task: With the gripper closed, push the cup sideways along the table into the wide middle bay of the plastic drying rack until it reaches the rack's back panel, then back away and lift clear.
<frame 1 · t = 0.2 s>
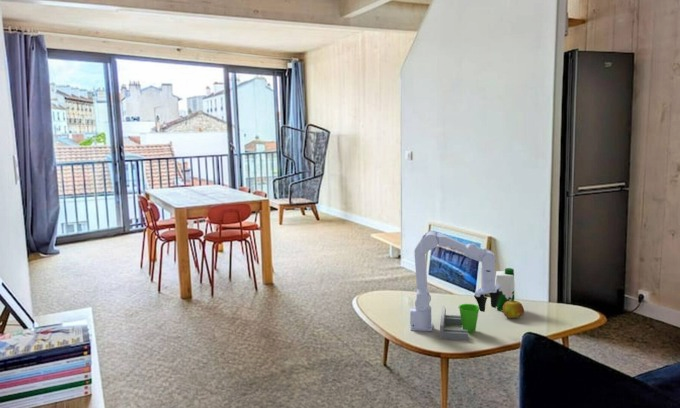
hand: (488, 309, 214), 10 cm above the table, tool pointing down, fingers open, 7 cm apart
rack: (457, 330, 218), on the table
milk carton: (504, 309, 243), on the table
cup: (469, 331, 217), on the table
fruit: (513, 318, 230), on the table
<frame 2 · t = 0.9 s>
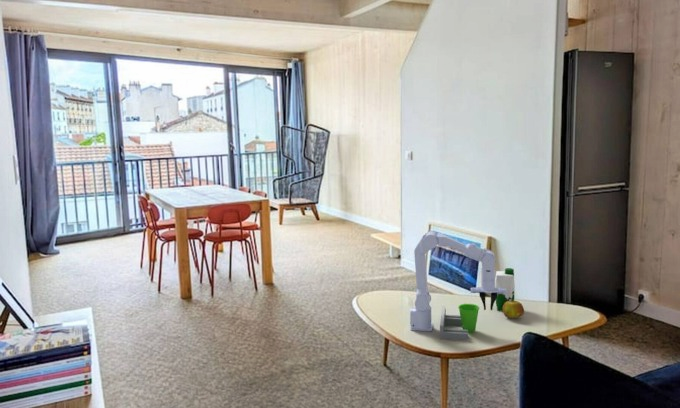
hand: (488, 309, 214), 10 cm above the table, tool pointing down, fingers closed
nothing on the table moved.
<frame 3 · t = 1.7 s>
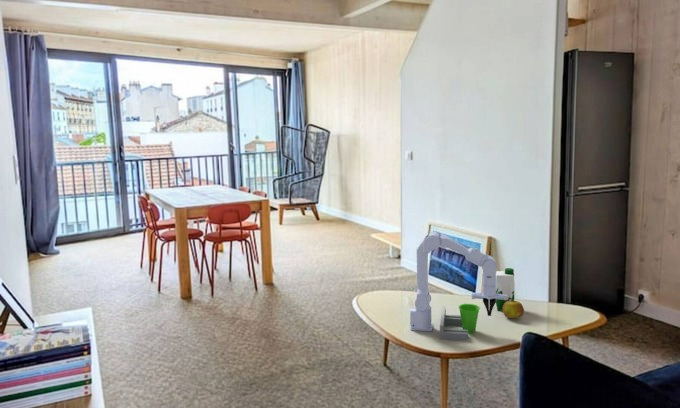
hand: (489, 315, 214), 8 cm above the table, tool pointing down, fingers closed
nothing on the table moved.
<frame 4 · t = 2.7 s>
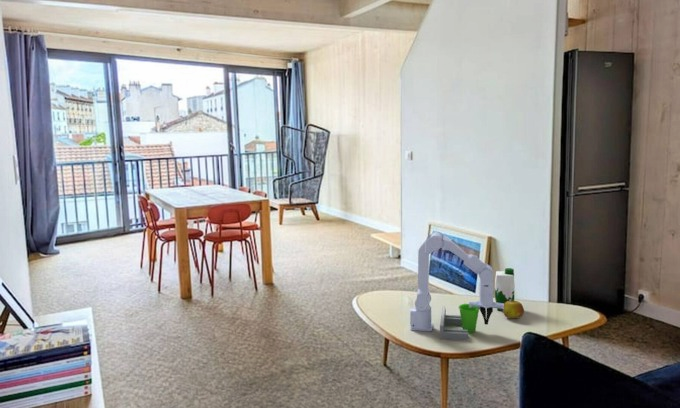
hand: (486, 323, 215), 4 cm above the table, tool pointing down, fingers closed
nothing on the table moved.
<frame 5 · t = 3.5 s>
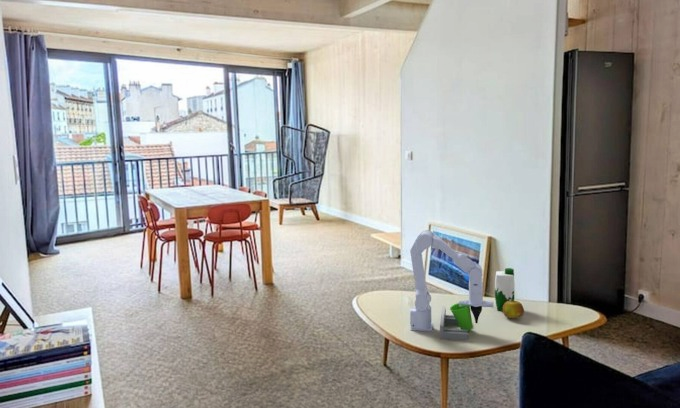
hand: (476, 322, 216), 4 cm above the table, tool pointing down, fingers closed, pressing on cup
cup: (467, 329, 217), point 1 cm above the table, touching gripper
everything else where it was.
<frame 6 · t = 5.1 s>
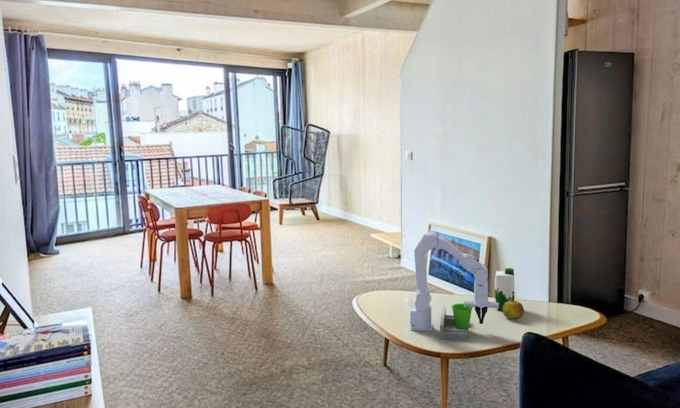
hand: (481, 323, 215), 4 cm above the table, tool pointing down, fingers closed
cup: (462, 331, 218), on the table
everything else where it was.
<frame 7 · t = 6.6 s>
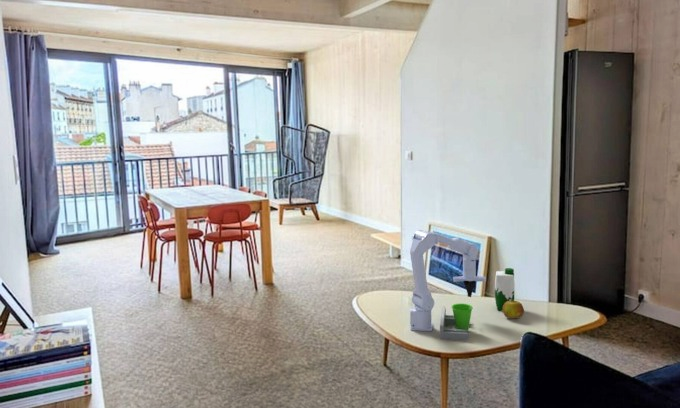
hand: (469, 296, 231), 10 cm above the table, tool pointing down, fingers closed
nothing on the table moved.
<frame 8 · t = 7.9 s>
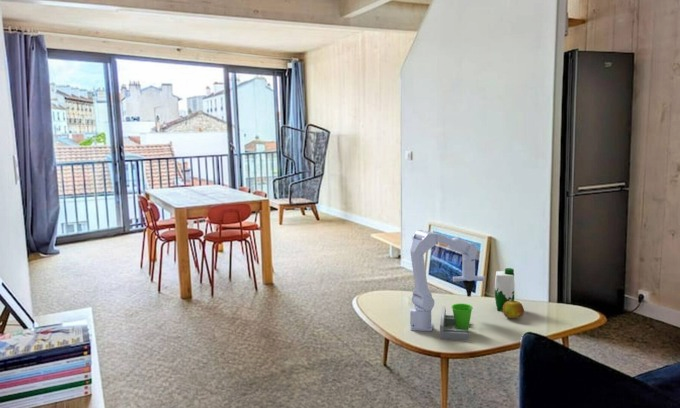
hand: (468, 295, 232), 10 cm above the table, tool pointing down, fingers closed
nothing on the table moved.
at the end: cup 2.0 cm off-centre on the rack, point 0.0 cm above the rack's base; cup tilted 0° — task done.
